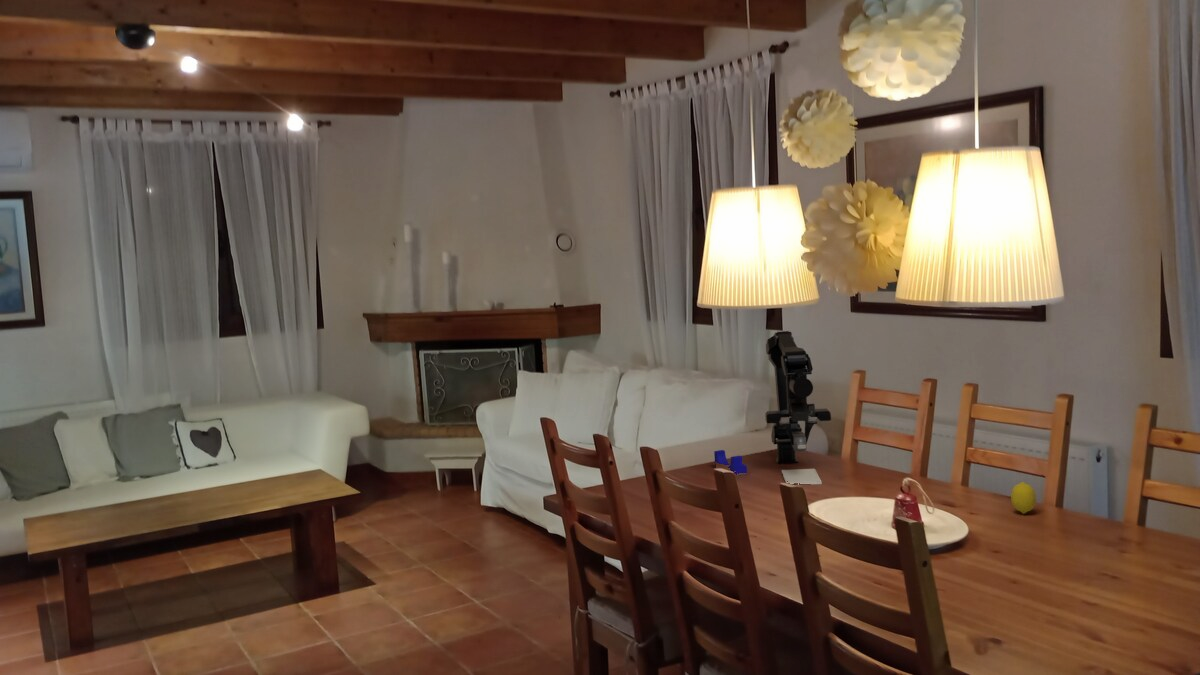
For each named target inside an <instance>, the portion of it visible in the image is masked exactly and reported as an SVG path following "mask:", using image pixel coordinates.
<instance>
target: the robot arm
mask: <svg viewBox="0 0 1200 675" xmlns="http://www.w3.org/2000/svg"><path fill="white" fill-rule="evenodd" d="M765 343H766V344H765V351H766V355H768V361H769V363H771V365H772V366H773V368H774V376H775V377H774V378H775V380H774V381H775V391H776V399H777V400H776V403H777V405H776V406H777V410H768V411H766V412H765V422H766V424H773V425H772V429H771V443H773V445H776V447H777V450H776V451H777V452H776V453H777V457H776V458H775V460H776V463H777V464H797V463H799V460H798V458H797V454H796V451H795V450H794V449H793V447H792V445H793V436H792V432H803V430H802V428H801V425H800V423H799V422H804V434H805V436H806V445H808V444H807V443H808V440H809V437H810V435H811V431H812V428H813V427H814V425H817V424H818V421H817V420H819V421H820V422H829V421H832V414H831V411H830V410H829V409H828V408H816V407H815V403H808V400H807V398H809V397H810V396H811V394H812V393H813V391H814V385H813V382H812V381H811V380H810V379H808V375H812V373H813V372H812V371H813V370H814V368H813V364H812V360H811V357H810V355H809V354H808V353H807V352H806V350H805V349H804V348H802V347H799V346H797V344H796V342H795V339H794V337H793V334H792V331H789V330H785V331H783V330H782V331H776V332H774V334H773V335H772V336H771V337H769V338H767V340H766V342H765Z"/></svg>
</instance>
